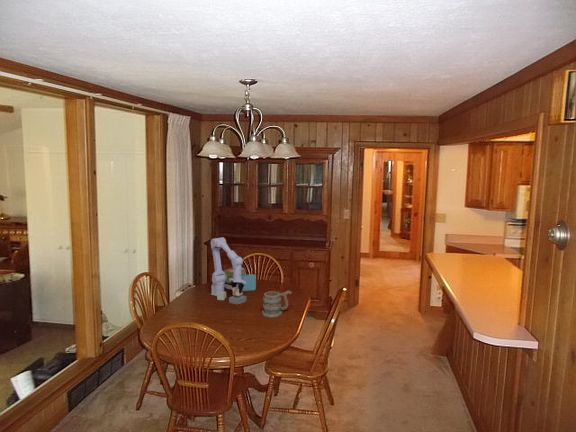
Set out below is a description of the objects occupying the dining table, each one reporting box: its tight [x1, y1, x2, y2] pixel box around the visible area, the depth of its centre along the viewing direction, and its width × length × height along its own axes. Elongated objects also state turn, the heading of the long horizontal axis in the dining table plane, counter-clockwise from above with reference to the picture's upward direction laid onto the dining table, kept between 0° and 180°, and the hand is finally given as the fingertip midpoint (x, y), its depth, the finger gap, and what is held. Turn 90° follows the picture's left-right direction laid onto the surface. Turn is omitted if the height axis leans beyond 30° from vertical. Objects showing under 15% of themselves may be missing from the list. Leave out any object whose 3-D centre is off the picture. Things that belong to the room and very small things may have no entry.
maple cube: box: [232, 287, 243, 296], centre depth 299 cm, size 5×5×5 cm
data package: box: [241, 273, 257, 292], centre depth 328 cm, size 12×4×12 cm, turn 101°
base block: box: [228, 294, 247, 305], centre depth 300 cm, size 9×9×4 cm
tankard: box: [261, 290, 293, 318], centre depth 277 cm, size 20×13×15 cm, turn 105°
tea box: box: [223, 267, 246, 291], centre depth 335 cm, size 15×10×15 cm
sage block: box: [216, 290, 227, 301], centre depth 306 cm, size 5×5×5 cm
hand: (237, 292), depth 299 cm, fingers closed on maple cube, 5 cm apart
